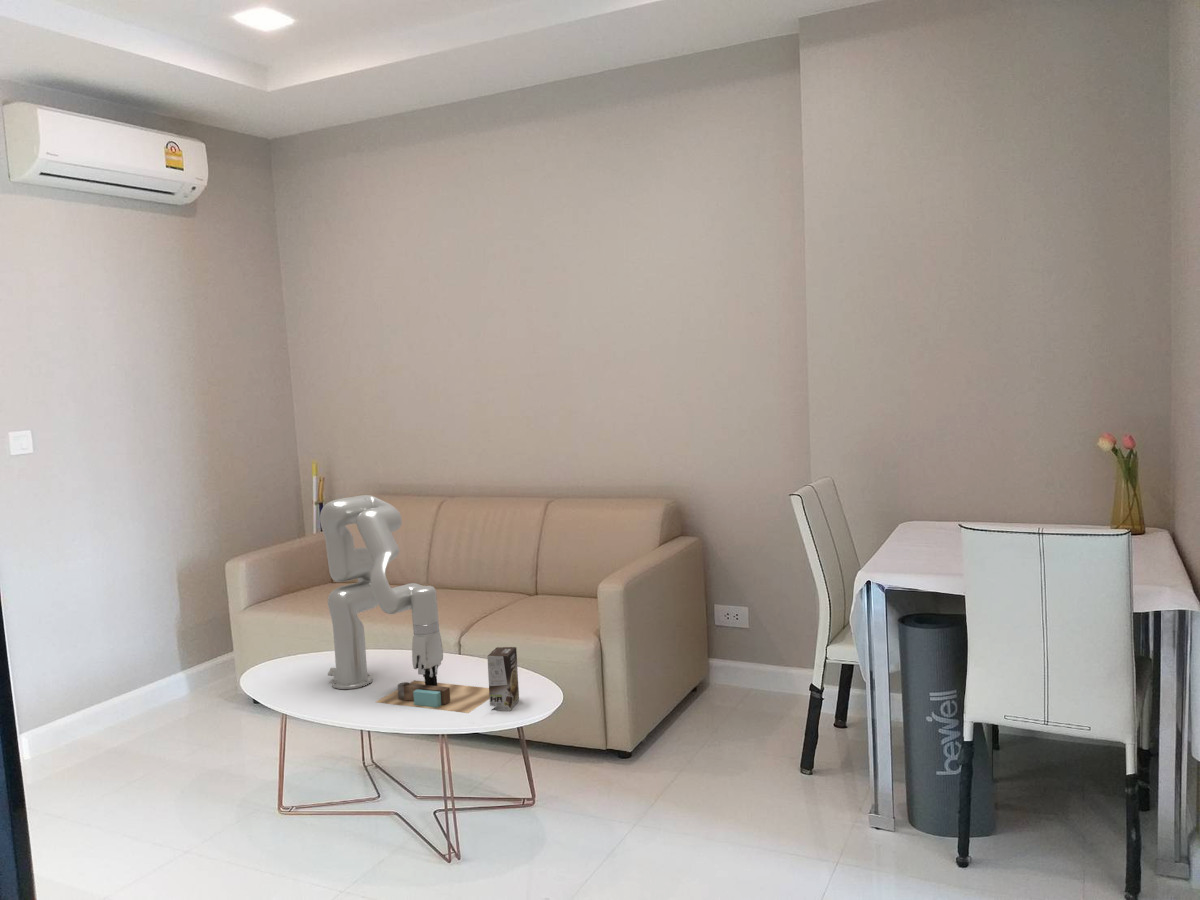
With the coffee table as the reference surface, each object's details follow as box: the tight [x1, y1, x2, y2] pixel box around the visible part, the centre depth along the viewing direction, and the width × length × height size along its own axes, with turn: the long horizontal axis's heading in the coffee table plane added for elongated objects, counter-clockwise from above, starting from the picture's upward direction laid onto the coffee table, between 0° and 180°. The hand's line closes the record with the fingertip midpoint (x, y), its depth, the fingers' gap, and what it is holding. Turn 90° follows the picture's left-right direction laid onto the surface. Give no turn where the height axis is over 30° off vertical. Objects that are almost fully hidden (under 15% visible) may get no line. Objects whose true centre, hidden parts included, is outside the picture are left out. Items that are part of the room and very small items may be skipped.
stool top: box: [375, 680, 490, 714], centre depth 268 cm, size 32×20×2 cm, turn 67°
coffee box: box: [487, 646, 520, 712], centre depth 261 cm, size 9×6×16 cm
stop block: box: [413, 689, 441, 708], centre depth 260 cm, size 8×2×4 cm, turn 67°
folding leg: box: [397, 681, 450, 704], centre depth 264 cm, size 17×4×4 cm, turn 67°
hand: (431, 689), depth 267 cm, fingers closed
